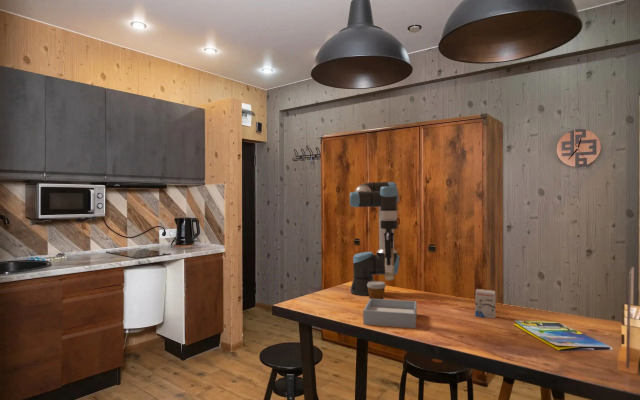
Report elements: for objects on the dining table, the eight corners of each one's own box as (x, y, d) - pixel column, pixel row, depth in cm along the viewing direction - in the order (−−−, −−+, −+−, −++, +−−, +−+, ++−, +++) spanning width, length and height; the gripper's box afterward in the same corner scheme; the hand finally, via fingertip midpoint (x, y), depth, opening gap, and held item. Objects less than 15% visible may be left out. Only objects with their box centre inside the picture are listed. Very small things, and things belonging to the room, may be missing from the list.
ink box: (474, 316, 176) (474, 291, 176) (476, 313, 180) (475, 288, 180) (495, 319, 172) (495, 293, 172) (495, 315, 176) (495, 290, 176)
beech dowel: (385, 278, 176) (385, 248, 176) (394, 278, 175) (394, 248, 175) (384, 280, 172) (384, 249, 172) (393, 280, 171) (393, 249, 171)
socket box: (370, 310, 186) (369, 298, 186) (416, 313, 180) (416, 301, 180) (363, 324, 167) (363, 310, 167) (415, 328, 161) (415, 314, 161)
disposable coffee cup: (385, 303, 199) (384, 280, 199) (386, 309, 189) (386, 285, 189) (366, 303, 199) (366, 280, 199) (367, 308, 190) (367, 284, 190)
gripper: (383, 219, 183) (383, 267, 183) (377, 221, 166) (378, 274, 166) (398, 219, 180) (399, 268, 180) (395, 221, 164) (396, 275, 164)
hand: (389, 271), depth 173 cm, fingers closed on beech dowel, 4 cm apart
